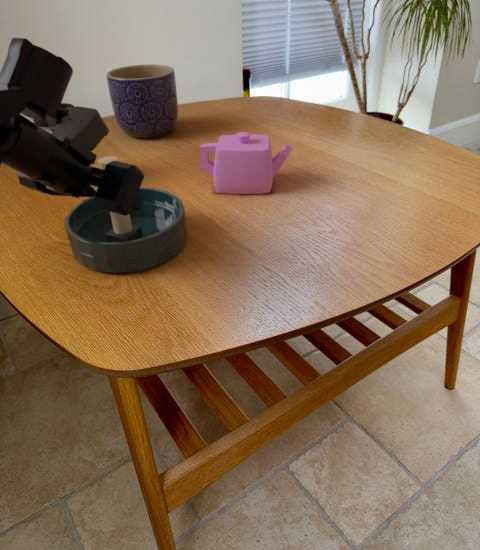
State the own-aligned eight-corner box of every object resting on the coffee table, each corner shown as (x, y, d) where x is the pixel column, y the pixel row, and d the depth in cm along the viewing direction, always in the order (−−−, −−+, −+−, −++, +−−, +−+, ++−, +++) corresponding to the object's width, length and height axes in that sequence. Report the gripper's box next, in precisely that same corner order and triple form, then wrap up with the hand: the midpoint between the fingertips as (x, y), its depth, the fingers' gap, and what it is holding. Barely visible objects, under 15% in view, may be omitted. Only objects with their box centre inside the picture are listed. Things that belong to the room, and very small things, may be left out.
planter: (104, 136, 113) (91, 74, 104) (146, 119, 124) (138, 62, 115) (152, 147, 106) (143, 82, 97) (193, 127, 117) (187, 67, 108)
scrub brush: (129, 252, 68) (111, 167, 59) (108, 247, 69) (87, 163, 60) (143, 239, 71) (128, 156, 62) (122, 235, 72) (104, 153, 63)
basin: (139, 289, 61) (132, 257, 58) (49, 256, 68) (38, 226, 65) (208, 229, 74) (205, 200, 70) (125, 207, 81) (120, 179, 78)
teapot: (289, 173, 91) (292, 124, 85) (291, 195, 83) (294, 143, 77) (205, 173, 92) (201, 124, 86) (198, 195, 84) (193, 143, 78)
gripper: (119, 99, 48) (186, 160, 62) (8, 83, 55) (90, 141, 70) (84, 192, 47) (159, 233, 61) (-25, 163, 54) (65, 206, 69)
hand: (117, 199), depth 65 cm, fingers open, 9 cm apart
